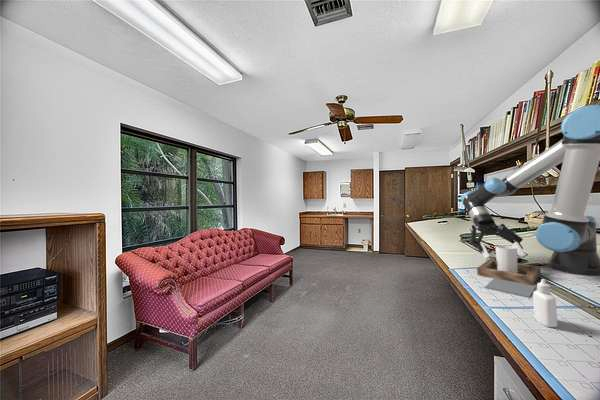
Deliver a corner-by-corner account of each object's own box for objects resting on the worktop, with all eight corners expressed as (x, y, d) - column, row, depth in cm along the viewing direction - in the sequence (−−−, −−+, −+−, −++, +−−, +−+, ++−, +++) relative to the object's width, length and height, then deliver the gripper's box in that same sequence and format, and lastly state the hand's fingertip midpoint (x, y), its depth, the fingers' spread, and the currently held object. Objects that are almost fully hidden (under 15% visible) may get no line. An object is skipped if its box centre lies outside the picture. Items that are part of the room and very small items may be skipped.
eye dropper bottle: (556, 320, 65) (554, 278, 64) (557, 329, 61) (555, 284, 60) (534, 315, 68) (532, 274, 67) (533, 324, 64) (531, 280, 64)
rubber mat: (536, 287, 85) (535, 286, 85) (529, 297, 78) (529, 296, 78) (494, 279, 95) (494, 278, 95) (485, 287, 88) (484, 286, 88)
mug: (515, 279, 93) (514, 249, 93) (494, 275, 98) (493, 247, 98) (522, 273, 99) (521, 245, 98) (502, 269, 104) (500, 243, 104)
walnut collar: (540, 273, 97) (540, 266, 97) (532, 285, 87) (532, 277, 86) (489, 265, 110) (489, 259, 110) (477, 274, 100) (477, 268, 100)
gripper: (506, 221, 114) (533, 260, 100) (451, 223, 118) (469, 262, 103) (514, 211, 109) (544, 251, 94) (456, 214, 112) (476, 253, 98)
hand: (505, 257), depth 99 cm, fingers open, 13 cm apart
